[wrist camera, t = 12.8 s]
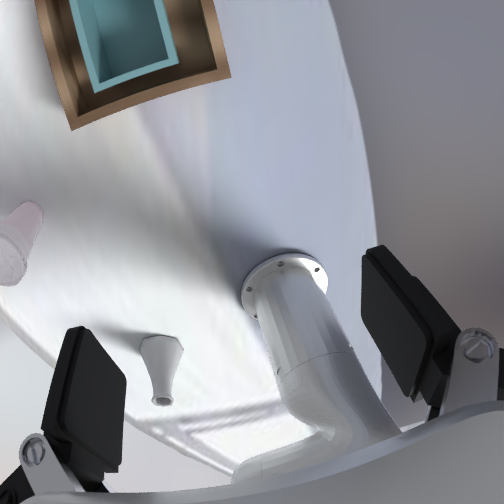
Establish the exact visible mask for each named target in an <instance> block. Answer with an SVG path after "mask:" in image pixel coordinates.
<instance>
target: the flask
mask: <svg viewBox="0 0 504 504" xmlns="http://www.w3.org/2000/svg"><path fill="white" fill-rule="evenodd" d="M183 350H184V349H183V347H182V346H181V344H180V342H179V340H178V339H176V338H171V337H166V336H161V335H159V336H155V337H150V338H146V339H143V341H142V344H141V347H140V352H141V355H142V357H143V360H144V362H145V365H146V367H147V370H148V373H149V375H150V378H151V381H152V386H153V394H154V395H153V397H152V402H153V403H154V404H155V405H157V406H170V405H172V404H173V402H174V399H173V398H172V396H171V388H172V381H173V378H174V375H175V372H176V369H177V366H178V363H179V361H180V358H181V356H182V353H183Z"/></svg>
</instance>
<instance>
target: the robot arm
mask: <svg viewBox="0 0 504 504" xmlns="http://www.w3.org/2000/svg"><path fill="white" fill-rule="evenodd" d="M327 286H328V279H327V274H326V272H325V270H324V268H323V267H322V265H321V264H320V263H319V262H318V261H317V260H316V259H314V258H312V257H310V256H308V255H304V254H298V253H289V254H282V255H278V256H275V257H272V258H270V259H267V260H266V261H264V262H262V263H261V264H259V265H258V266H257V267H256V268H254V269H253V270H252V271H251V272H250V274H249V275H248V276H247V277H246V279H245V281H244V283H243V286H242V289H241V300H242V304H243V308H244V310H245V311H246V313H247V314H248V315H249V316H250V317H251V318H253V319H255V320H257V321H259V324H260V328H261V331H262V334H263V338H264V341H265V345H266V348H267V352H268V355H269V359H270V362H271V366H272V369H273V372H274V376H275V379H276V383H277V386H278V389H279V393H280V396H281V399H282V402H283V404H284V406H285V408H286V409H287V410H288V412H289V413H290V414H291V415H292V416H294V417H295V418H296V419H298V420H299V421H301V422H303V423H305V424H307V425H309V426H311V427H313V428H315V429H317V430H318V432H317V433H315V434H314V435H312V436H309V437H307V438H305V439H304V440H301V441H298V442H295V443H293V444H290V445H287V446H284V447H281V448H278V449H275V450H272V451H269V452H266V453H263V454H260V455H257V456H255V457H252V458H250V459H247V460H245V461H244V462H242V463H241V464H240V465H239V466H238V467H237V468H236V469H235V471H234V473H233V476H232V481H231V484H230V485H223V486H216V487H208V488H200V489H191V490H180V491H168V492H147V493H115V491H114V490H113V489H112V488H111V486H110V485H109V484H108V482H107V481H106V480H105V478H104V472H105V473H118V465H120V464H121V461H122V439H123V422H124V408H125V396H126V385H127V382H126V377H125V375H124V374H123V372H122V371H121V370H120V369H119V367H118V366H117V365H116V364H115V362H114V361H113V360H112V359H111V357H110V356H109V355H108V353H107V352H106V351H105V350H104V348H103V347H102V346H101V344H100V343H99V342H98V340H97V339H96V338H95V336H94V335H93V333H92V332H91V331H90V330H89V329H86V328H85V327H84V326H79V327H74V328H70V329H68V330H67V332H66V334H65V337H64V341H63V344H62V347H61V350H60V354H59V357H58V360H57V364H56V367H55V371H54V375H53V378H52V382H51V386H50V390H49V394H48V398H47V402H46V406H45V411H44V415H43V420H42V425H41V429H42V430H43V431H44V434H43V435H41V434H38V433H35V434H31V435H29V436H28V437H27V438H26V439H25V440H24V441H23V443H22V445H21V447H20V451H19V459H20V463H21V465H20V466H19V467H18V468H17V469H16V470H15V471H14V472H13V473H12V474H11V475H10V476H9V477H8V478H7V479H6V480H5V481H4V482H3V483H2V484H1V485H0V504H504V349H502V348H499V345H498V342H497V340H496V338H495V337H494V336H493V335H492V334H491V333H490V332H489V331H487V330H485V329H482V328H479V327H471V328H468V329H465V330H464V331H461V330H460V329H459V327H458V326H457V325H456V324H455V322H453V320H452V319H451V317H450V316H449V315H448V314H447V312H446V311H445V310H444V309H443V307H442V306H441V305H440V304H439V303H438V301H437V300H436V299H435V298H434V297H433V295H432V294H431V293H430V292H429V291H428V290H427V288H426V287H425V286H424V285H423V284H422V283H421V282H420V280H419V279H417V277H415V276H411V274H410V273H409V272H408V271H407V270H406V269H405V268H404V266H402V264H401V263H400V262H399V261H398V260H397V259H396V257H395V256H394V255H393V254H392V253H391V252H390V251H389V250H388V249H387V248H386V247H385V246H384V245H380V246H377V247H373V248H370V249H367V251H366V255H363V256H362V289H361V317H362V320H363V323H364V324H365V326H366V328H367V330H368V331H369V333H370V335H371V336H372V338H373V340H374V342H375V343H376V345H377V347H378V349H379V350H380V352H381V354H382V356H383V357H384V359H385V361H386V363H387V365H388V366H389V368H390V370H391V371H392V374H393V375H394V377H395V379H396V381H397V383H398V384H399V386H400V388H401V390H402V392H403V394H404V395H405V396H406V397H409V396H410V397H411V399H412V401H413V403H415V402H416V401H419V400H421V399H423V398H424V400H425V401H426V403H427V405H429V408H428V412H427V416H426V419H425V423H423V424H421V425H419V426H417V427H415V428H412V429H410V430H408V431H406V432H404V433H402V431H401V430H400V428H399V427H398V426H397V424H396V423H395V421H394V420H393V419H392V417H391V416H390V414H389V413H388V411H387V410H386V409H385V407H384V405H383V404H382V402H381V401H380V399H379V397H378V396H377V394H376V392H375V390H374V389H373V387H372V385H371V383H370V381H369V379H368V377H367V375H366V373H365V371H364V369H363V367H362V365H361V363H360V361H359V359H358V358H357V356H356V354H355V352H354V350H353V348H352V346H351V344H350V342H349V340H348V338H347V336H346V334H345V332H344V330H343V328H342V326H341V324H340V322H339V320H338V318H337V316H336V314H335V313H334V311H333V309H332V307H331V305H330V303H329V301H328V299H327V297H326V295H325V293H326V290H327Z"/></svg>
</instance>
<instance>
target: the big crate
mask: <svg viewBox="0 0 504 504" xmlns="http://www.w3.org/2000/svg"><path fill="white" fill-rule="evenodd" d="M164 3H165V7H166V11H167V15H168V19H169V23H170V27H171V31H172V34H173V38H174V42H175V46H176V50H177V53H178V57H179V61H180V63H178V64H175V65H171V66H168V67H165V68H161V69H158V70H155V71H152V72H149V73H146V74H143V75H140V76H138V77H135V78H132V79H129V80H127V81H124V82H121V83H119V84H116V85H113V86H111V87H108V88H106V89H104V90H101V91H99V92H96V93H94V90H93V87H92V83H91V80H90V77H89V74H88V70H87V67H86V64H85V60H84V57H83V53H82V50H81V46H80V42H79V39H78V35H77V31H76V27H75V23H74V19H73V15H72V11H71V6H70V2H69V0H35V5H36V10H37V15H38V19H39V24H40V28H41V32H42V36H43V40H44V44H45V48H46V52H47V56H48V59H49V63H50V66H51V70H52V73H53V77H54V80H55V83H56V86H57V90H58V93H59V96H60V99H61V102H62V105H63V108H64V111H65V114H66V117H67V119H68V122H69V125H70V128H71V131H73V130H75V129H77V128H80V127H82V126H84V125H86V124H89V123H91V122H94V121H96V120H98V119H101V118H103V117H106V116H108V115H111V114H113V113H116V112H118V111H121V110H124V109H126V108H129V107H132V106H135V105H138V104H140V103H143V102H146V101H149V100H152V99H155V98H158V97H161V96H165V95H168V94H171V93H174V92H178V91H181V90H185V89H188V88H192V87H195V86H199V85H203V84H207V83H211V82H215V81H219V80H223V79H227V78H231V73H230V69H229V65H228V61H227V56H226V52H225V48H224V44H223V39H222V35H221V31H220V27H219V23H218V19H217V14H216V10H215V6H214V2H213V0H164Z"/></svg>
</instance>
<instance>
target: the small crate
mask: <svg viewBox="0 0 504 504" xmlns="http://www.w3.org/2000/svg"><path fill="white" fill-rule="evenodd" d="M69 2H70V6H71V11H72V15H73V19H74V23H75V27H76V31H77V35H78V39H79V42H80V46H81V50H82V53H83V57H84V60H85V64H86V67H87V70H88V74H89V77H90V80H91V83H92V87H93V90H94V93H96V92H99V91H101V90H104V89H106V88H108V87H111V86H113V85H116V84H119V83H121V82H124V81H127V80H129V79H132V78H135V77H138V76H140V75H143V74H146V73H149V72H152V71H155V70H158V69H161V68H165V67H168V66H171V65H175V64H178V63H180V61H179V57H178V53H177V50H176V46H175V42H174V38H173V34H172V31H171V27H170V23H169V19H168V15H167V11H166V7H165V3H164V0H69Z"/></svg>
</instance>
